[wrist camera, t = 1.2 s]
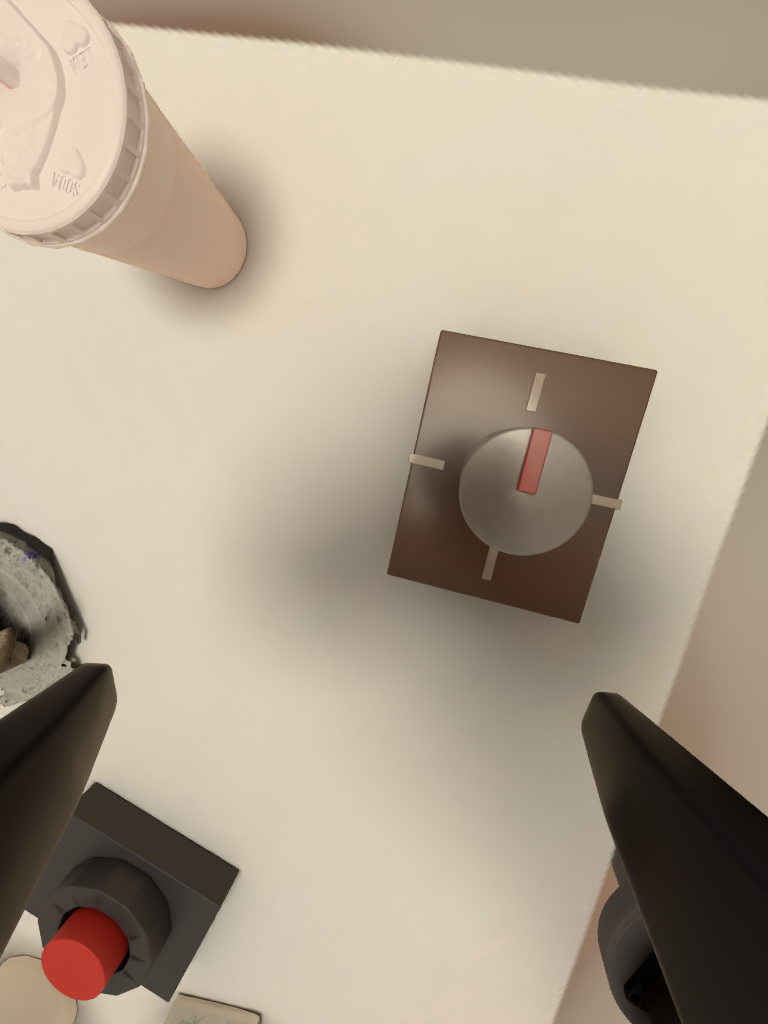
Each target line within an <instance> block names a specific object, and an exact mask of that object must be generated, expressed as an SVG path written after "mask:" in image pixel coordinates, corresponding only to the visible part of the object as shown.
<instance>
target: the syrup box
mask: <svg viewBox="0 0 768 1024" xmlns="http://www.w3.org/2000/svg"><path fill="white" fill-rule="evenodd" d="M164 1024H260V1017H259V1016H258V1015H256V1014H254V1013H251V1012H248V1011H245V1010H242V1009H239V1008H236V1007H232V1006H228V1005H224V1004H221V1003H215V1002H211V1001H207V1000H202V999H198V998H193V997H188V996H183V995H179V996H178V997H177V999H176V1001H175V1002H174V1005H173V1007H172V1009H171V1011H170V1013H169V1015H168V1017H167V1019H166V1021H165V1023H164Z"/></svg>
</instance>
